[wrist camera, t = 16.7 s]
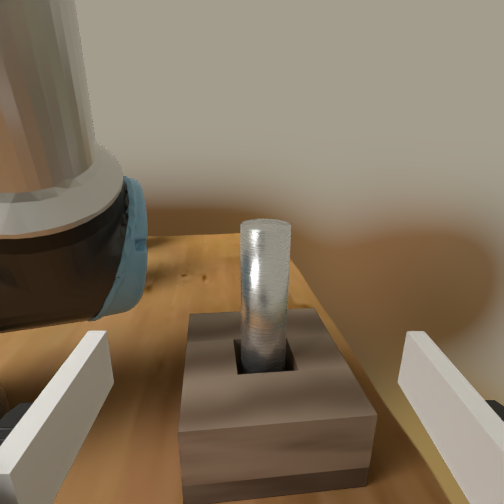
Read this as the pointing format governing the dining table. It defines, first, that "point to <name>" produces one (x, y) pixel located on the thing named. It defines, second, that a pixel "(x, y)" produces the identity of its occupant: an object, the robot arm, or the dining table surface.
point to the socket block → (270, 415)
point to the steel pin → (264, 294)
